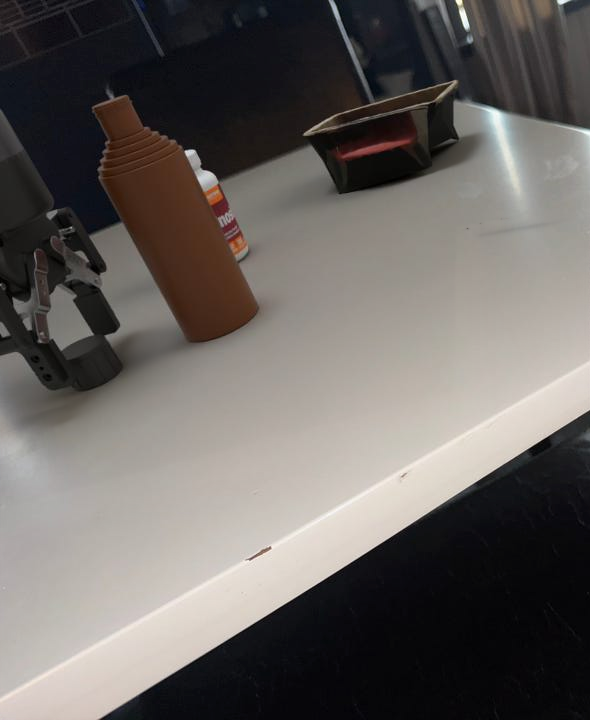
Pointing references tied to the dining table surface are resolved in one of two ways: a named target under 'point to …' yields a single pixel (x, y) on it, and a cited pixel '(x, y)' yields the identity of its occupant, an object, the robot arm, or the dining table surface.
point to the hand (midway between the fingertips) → (88, 357)
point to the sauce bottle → (172, 225)
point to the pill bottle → (219, 206)
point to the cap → (92, 361)
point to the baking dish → (385, 137)
